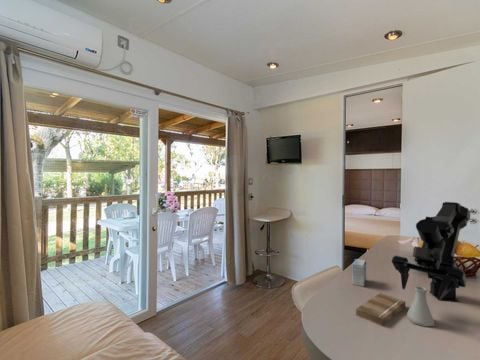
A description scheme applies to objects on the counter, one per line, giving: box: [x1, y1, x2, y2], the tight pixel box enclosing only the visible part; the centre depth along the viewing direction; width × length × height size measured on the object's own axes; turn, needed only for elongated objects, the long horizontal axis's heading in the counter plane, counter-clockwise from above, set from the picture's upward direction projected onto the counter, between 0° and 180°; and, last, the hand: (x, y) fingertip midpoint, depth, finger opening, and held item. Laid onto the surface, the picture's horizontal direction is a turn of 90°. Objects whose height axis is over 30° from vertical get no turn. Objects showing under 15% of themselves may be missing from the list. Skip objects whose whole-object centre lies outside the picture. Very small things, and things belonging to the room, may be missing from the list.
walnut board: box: [355, 292, 406, 327], centre depth 84 cm, size 18×8×2 cm, turn 129°
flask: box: [406, 285, 436, 327], centre depth 79 cm, size 7×7×10 cm
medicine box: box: [351, 258, 367, 288], centre depth 107 cm, size 8×4×9 cm, turn 148°
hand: (420, 294), depth 78 cm, fingers open, 9 cm apart
